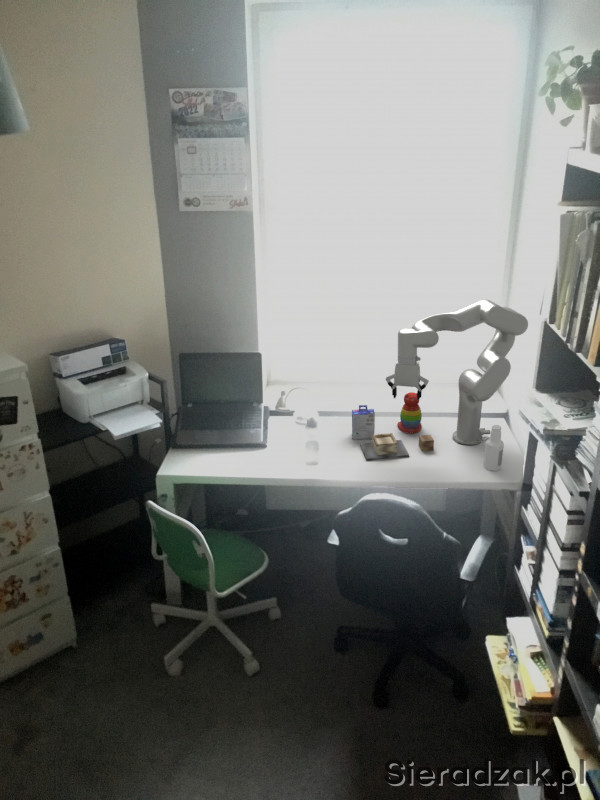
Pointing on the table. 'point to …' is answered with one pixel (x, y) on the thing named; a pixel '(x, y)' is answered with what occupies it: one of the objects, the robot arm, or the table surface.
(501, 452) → the spray bottle
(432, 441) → the walnut block
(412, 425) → the stacking bear
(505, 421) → the table surface
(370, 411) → the ink cartridge box
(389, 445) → the build base
